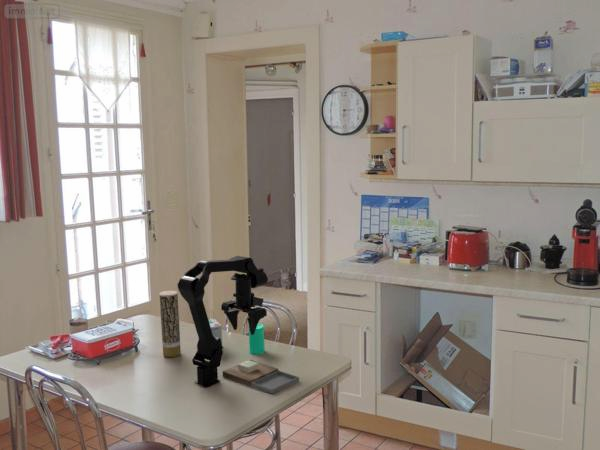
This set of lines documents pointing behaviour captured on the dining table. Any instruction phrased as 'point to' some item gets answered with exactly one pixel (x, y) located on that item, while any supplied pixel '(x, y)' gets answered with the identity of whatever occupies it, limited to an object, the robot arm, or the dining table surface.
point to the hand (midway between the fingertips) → (243, 332)
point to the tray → (274, 382)
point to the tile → (248, 366)
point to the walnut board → (249, 377)
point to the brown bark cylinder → (170, 323)
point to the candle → (257, 340)
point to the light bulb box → (216, 328)
